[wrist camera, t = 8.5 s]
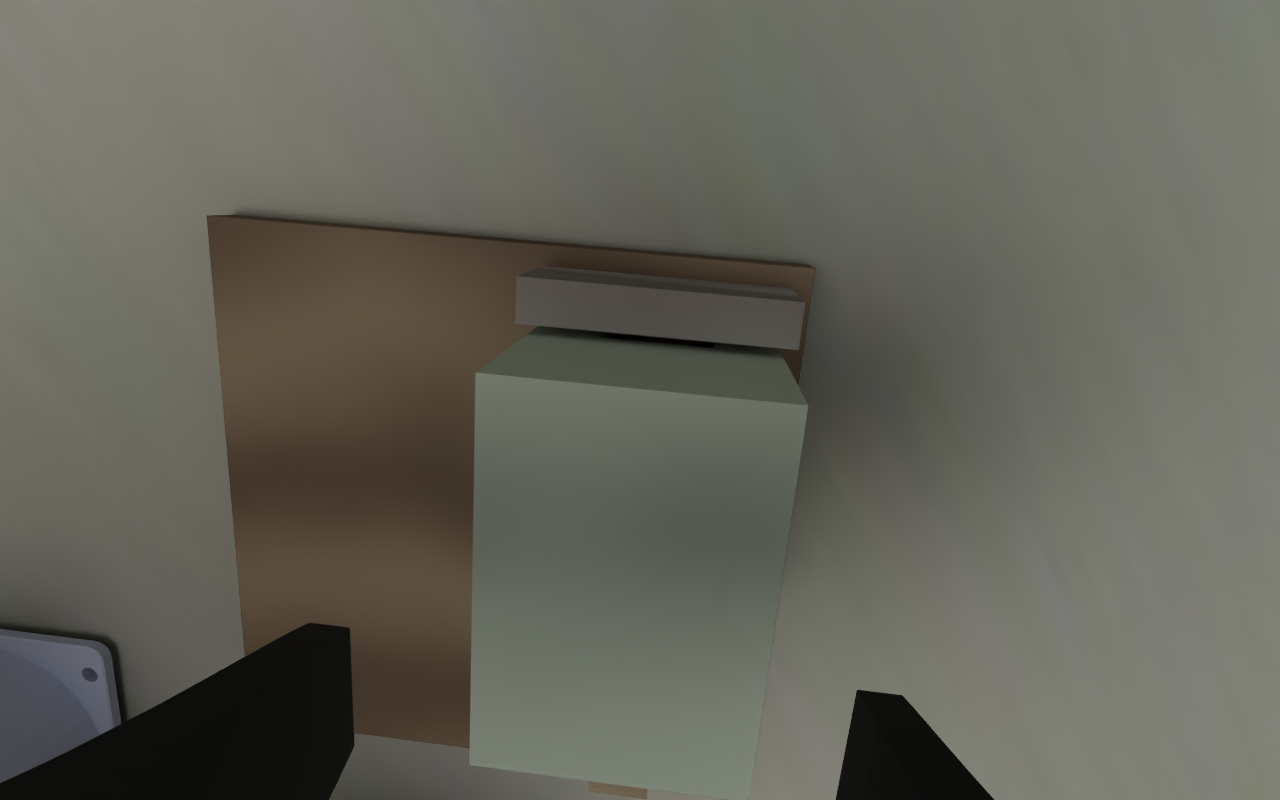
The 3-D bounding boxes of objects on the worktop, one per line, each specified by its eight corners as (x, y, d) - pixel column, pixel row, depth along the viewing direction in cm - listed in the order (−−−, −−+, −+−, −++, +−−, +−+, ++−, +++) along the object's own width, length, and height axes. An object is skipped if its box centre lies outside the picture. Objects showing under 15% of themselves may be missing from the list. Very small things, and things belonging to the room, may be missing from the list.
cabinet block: (735, 624, 19) (748, 802, 14) (537, 600, 20) (469, 765, 14) (773, 337, 17) (808, 406, 11) (550, 316, 18) (475, 372, 12)
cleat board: (738, 757, 22) (745, 859, 18) (269, 697, 23) (194, 783, 19) (808, 265, 18) (833, 280, 14) (232, 215, 19) (128, 217, 15)
